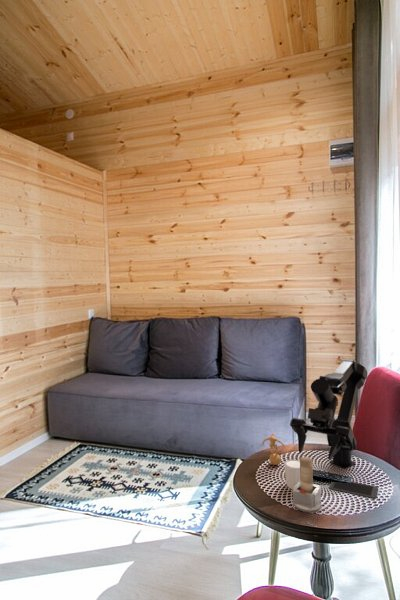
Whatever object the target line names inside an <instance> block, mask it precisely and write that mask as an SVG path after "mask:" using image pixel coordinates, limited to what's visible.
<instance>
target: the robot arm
mask: <svg viewBox="0 0 400 600" xmlns="http://www.w3.org/2000/svg"><path fill="white" fill-rule="evenodd" d="M367 378H368V371H367V368H366V367H365V366H364V365H362V364H360V363H358V361H357V360H355V359H349V358H348V359H347V358H346V359H342V360H341V363H340V364H339V366H338V367H337V368H336V369H335V370H334V372H333V371H332V373H328V374H326V375H324V376H323V375H319V378H317V379H315V380H313V382H311V384H310V389H311V391H312V393H313V395H314V397H315V400H316V401H317V402H318V403H317V407H315V408H311V407H309V408H308V413H307V419H309V421H310V423H311V424H308V423H306V421H305V419H301V418H298V417H292V419H290V423H289V426H290V428H291V429H292V430H293V432H294V433H295V434H296V435H297V444H298V453H299V454H301V453H302V452H303V449H304V445H305V444H306V440H307V435H306V434H307V433H308V432H313V433H319V434H324V435H326V439H327V440H326V441H327V445H328V447H330V448H329V451H328V455H327V456H328V457H327V459H328V461H329V463H330V464H332V465H335V466H337V467H339V468H342V469H345V470H346V469H348V468H350V467H352V466H354V465H356V461H353V460H352V459H353V458H352V452H353V451H356V450H357V439H356V437H355V435H354V431H353V427H352V425H351V422H352V417H353V413H354V409H355V405H356V400H357V396H358V392H359V390H360V389H361V388H363V386H365V383H366V380H368V379H367ZM337 395H338V396H341V395H342V397H341V402H340V404H339V399H338V397H337ZM339 405H340V407H339V409H338V414H337V418H335V415H336V412H337V411H336V410H337V407H338V406H339Z"/></svg>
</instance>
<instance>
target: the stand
mask: <svg viewBox="0 0 400 600" xmlns="http://www.w3.org/2000/svg"><path fill="white" fill-rule="evenodd" d="M292 505H293V507H294V508H295V509H296V510H298V511H300V512H303V513H315V512H316V513H317V512H319V511H320V510H321V509H322V490H321V485H318V484H314V483H313V492H312V493H307V492H306V491H304V490H300V482H298V483H297V484H296V485H295V486H294V487H293V489H292Z"/></svg>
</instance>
